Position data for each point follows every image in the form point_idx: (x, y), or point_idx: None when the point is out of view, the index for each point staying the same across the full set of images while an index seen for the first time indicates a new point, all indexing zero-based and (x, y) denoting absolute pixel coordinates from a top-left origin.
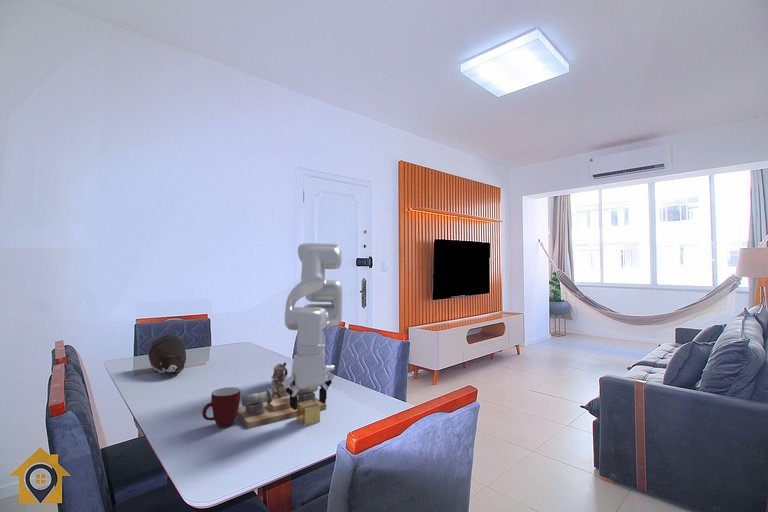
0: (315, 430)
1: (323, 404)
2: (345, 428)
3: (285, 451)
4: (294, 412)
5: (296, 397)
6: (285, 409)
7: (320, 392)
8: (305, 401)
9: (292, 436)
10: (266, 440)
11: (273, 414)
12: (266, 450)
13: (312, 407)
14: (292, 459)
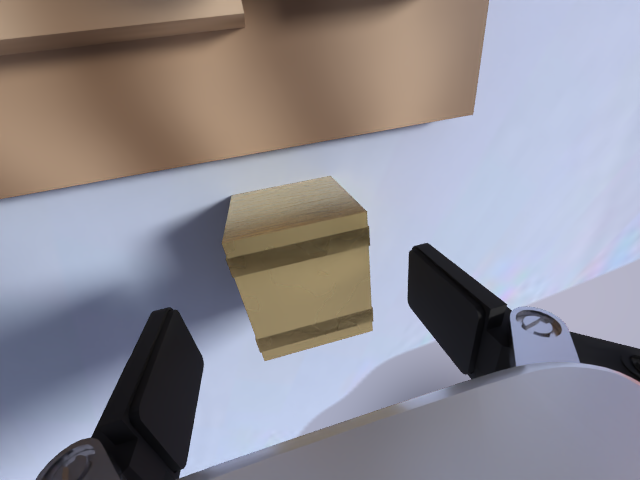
0: None
1: (456, 108)
2: (399, 345)
3: None
4: (216, 158)
5: (176, 471)
6: (131, 61)
7: (455, 310)
8: (306, 228)
9: None
10: (54, 378)
11: (9, 142)
12: (73, 436)
13: (317, 345)
14: None
